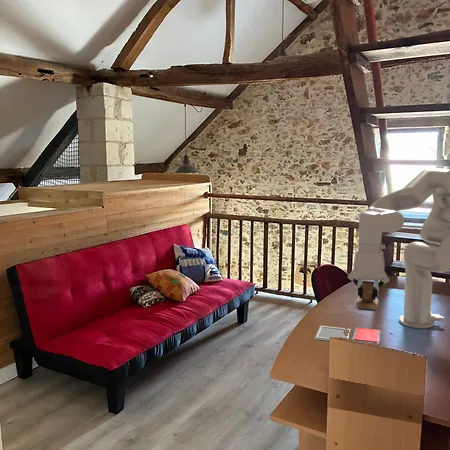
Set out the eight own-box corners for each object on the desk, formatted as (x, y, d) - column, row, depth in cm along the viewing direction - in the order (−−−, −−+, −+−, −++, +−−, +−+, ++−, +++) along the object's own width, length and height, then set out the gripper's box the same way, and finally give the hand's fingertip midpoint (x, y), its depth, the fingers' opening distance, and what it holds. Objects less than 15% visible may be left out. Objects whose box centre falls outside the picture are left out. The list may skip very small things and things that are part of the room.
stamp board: (352, 329, 172) (352, 328, 172) (348, 343, 160) (348, 342, 160) (320, 325, 176) (320, 324, 176) (314, 339, 164) (314, 337, 164)
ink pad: (380, 333, 168) (380, 329, 168) (379, 347, 157) (379, 342, 157) (355, 330, 171) (355, 326, 171) (351, 343, 160) (351, 339, 160)
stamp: (378, 305, 164) (379, 280, 162) (377, 312, 158) (378, 285, 156) (357, 303, 166) (358, 278, 165) (356, 309, 160) (356, 283, 158)
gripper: (395, 246, 159) (393, 297, 162) (345, 243, 165) (344, 292, 168) (395, 251, 152) (392, 304, 155) (343, 248, 158) (341, 299, 161)
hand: (367, 297), depth 161 cm, fingers closed on stamp, 4 cm apart
